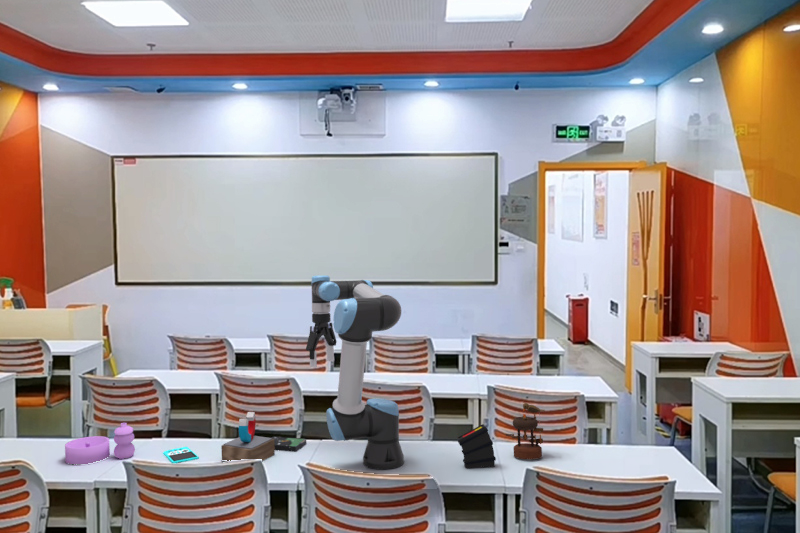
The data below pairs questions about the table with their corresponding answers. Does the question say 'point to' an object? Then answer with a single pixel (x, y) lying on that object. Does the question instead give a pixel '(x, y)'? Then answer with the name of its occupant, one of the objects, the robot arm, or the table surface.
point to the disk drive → (288, 444)
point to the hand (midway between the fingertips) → (322, 364)
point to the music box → (527, 424)
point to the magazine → (477, 448)
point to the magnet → (247, 427)
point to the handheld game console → (180, 455)
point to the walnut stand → (248, 449)
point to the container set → (100, 447)
